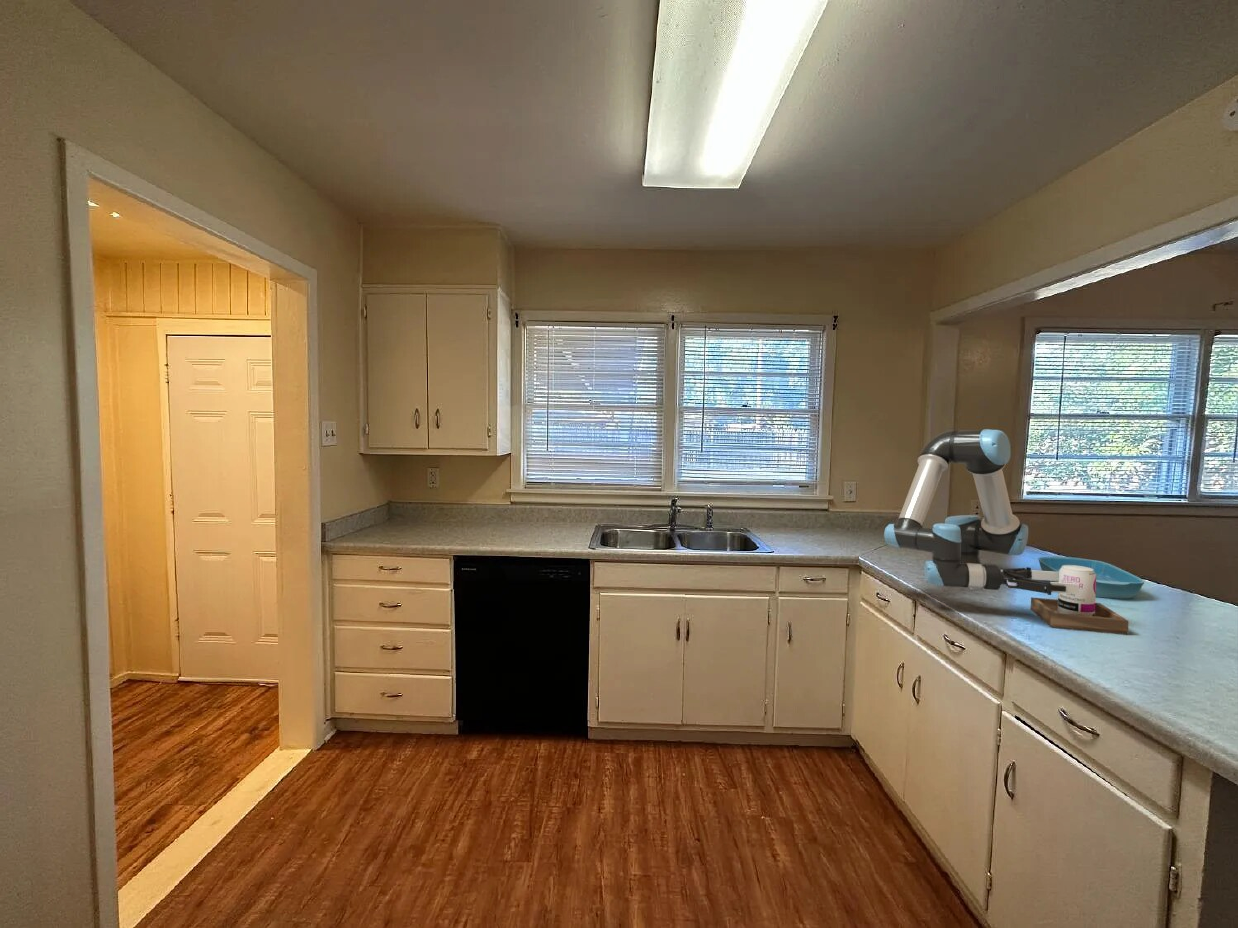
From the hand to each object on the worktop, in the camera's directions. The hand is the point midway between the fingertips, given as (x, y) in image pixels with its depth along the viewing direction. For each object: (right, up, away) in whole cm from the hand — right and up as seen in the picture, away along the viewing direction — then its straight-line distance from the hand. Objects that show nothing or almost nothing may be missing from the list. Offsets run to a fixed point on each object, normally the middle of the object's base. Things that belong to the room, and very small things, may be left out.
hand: (1068, 582), depth 153 cm
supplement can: (+2, -11, 0) cm, 11 cm away
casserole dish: (+36, -10, +34) cm, 50 cm away
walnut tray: (+2, -12, 0) cm, 12 cm away
